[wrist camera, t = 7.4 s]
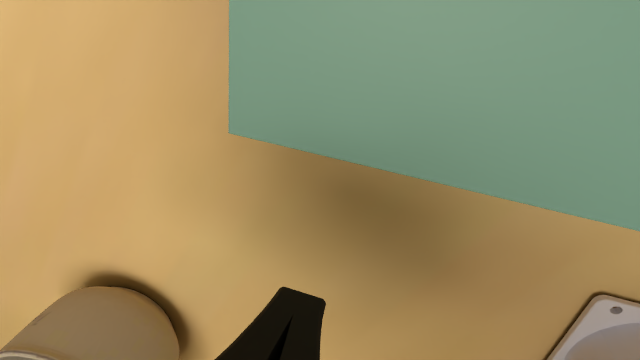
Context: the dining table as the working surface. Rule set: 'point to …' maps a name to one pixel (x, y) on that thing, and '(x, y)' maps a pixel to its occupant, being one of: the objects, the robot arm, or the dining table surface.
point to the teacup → (97, 329)
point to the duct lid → (452, 93)
